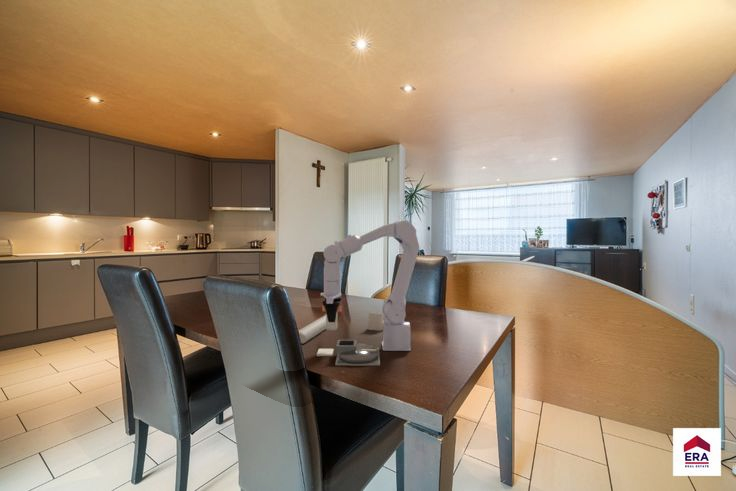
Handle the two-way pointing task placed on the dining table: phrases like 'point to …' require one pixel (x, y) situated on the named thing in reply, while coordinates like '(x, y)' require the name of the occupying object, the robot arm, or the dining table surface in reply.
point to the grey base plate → (356, 351)
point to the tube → (312, 329)
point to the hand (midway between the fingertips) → (332, 320)
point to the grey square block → (375, 321)
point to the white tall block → (332, 324)
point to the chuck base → (371, 363)
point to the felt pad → (325, 352)
